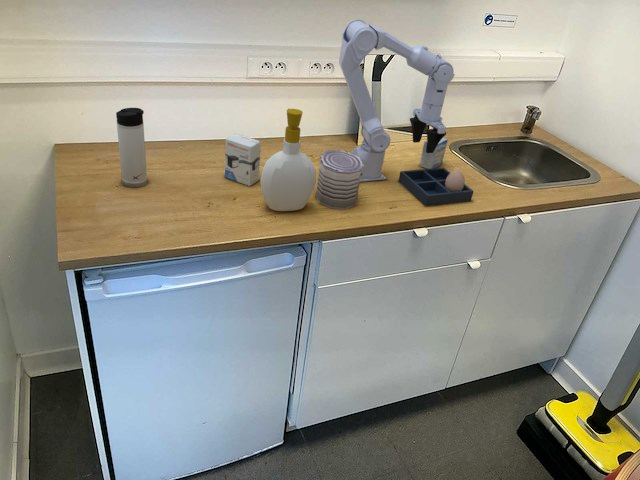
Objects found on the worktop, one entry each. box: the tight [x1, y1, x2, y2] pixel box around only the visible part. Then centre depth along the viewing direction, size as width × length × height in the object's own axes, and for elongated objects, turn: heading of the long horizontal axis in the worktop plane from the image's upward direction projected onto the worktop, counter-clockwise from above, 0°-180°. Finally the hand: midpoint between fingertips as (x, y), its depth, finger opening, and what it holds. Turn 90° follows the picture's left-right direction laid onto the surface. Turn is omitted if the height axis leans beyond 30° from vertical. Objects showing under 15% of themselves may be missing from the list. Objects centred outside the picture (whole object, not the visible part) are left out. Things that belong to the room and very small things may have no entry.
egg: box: [445, 169, 465, 192], centre depth 155 cm, size 5×5×7 cm
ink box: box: [224, 133, 262, 187], centre depth 149 cm, size 8×5×12 cm, turn 62°
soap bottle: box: [259, 108, 317, 212], centre depth 135 cm, size 14×9×26 cm, turn 108°
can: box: [315, 149, 364, 210], centre depth 145 cm, size 11×11×12 cm
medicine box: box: [419, 137, 449, 169], centre depth 172 cm, size 8×4×9 cm, turn 143°
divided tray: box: [398, 167, 475, 207], centre depth 158 cm, size 15×15×3 cm
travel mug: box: [115, 107, 148, 188], centre depth 138 cm, size 6×7×20 cm
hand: (422, 147), depth 162 cm, fingers open, 7 cm apart
